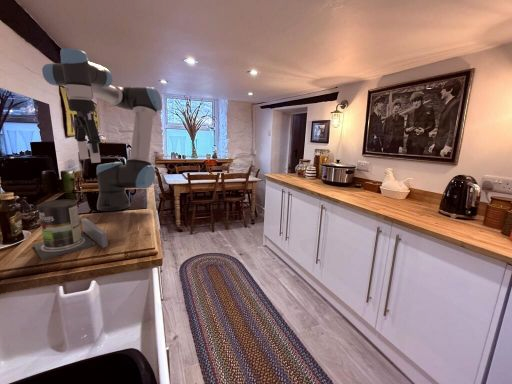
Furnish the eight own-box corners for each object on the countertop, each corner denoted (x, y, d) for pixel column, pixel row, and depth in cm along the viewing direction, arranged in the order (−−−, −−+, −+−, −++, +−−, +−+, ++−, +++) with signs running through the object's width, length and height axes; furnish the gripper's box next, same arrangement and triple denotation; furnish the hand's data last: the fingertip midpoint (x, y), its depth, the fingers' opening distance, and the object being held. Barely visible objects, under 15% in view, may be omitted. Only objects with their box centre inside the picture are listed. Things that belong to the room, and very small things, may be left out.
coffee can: (58, 252, 78) (50, 208, 75) (36, 246, 81) (28, 205, 78) (89, 239, 87) (84, 200, 84) (69, 235, 91) (63, 197, 88)
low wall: (82, 230, 98) (81, 218, 97) (87, 229, 99) (85, 217, 98) (102, 247, 84) (101, 233, 82) (107, 246, 85) (106, 232, 84)
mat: (33, 246, 84) (33, 243, 84) (82, 234, 94) (81, 232, 94) (41, 259, 75) (41, 257, 75) (94, 245, 85) (94, 242, 85)
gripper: (59, 100, 92) (69, 158, 97) (78, 95, 76) (88, 165, 81) (82, 102, 97) (91, 156, 103) (105, 98, 81) (113, 163, 87)
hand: (90, 160), depth 92 cm, fingers open, 13 cm apart
